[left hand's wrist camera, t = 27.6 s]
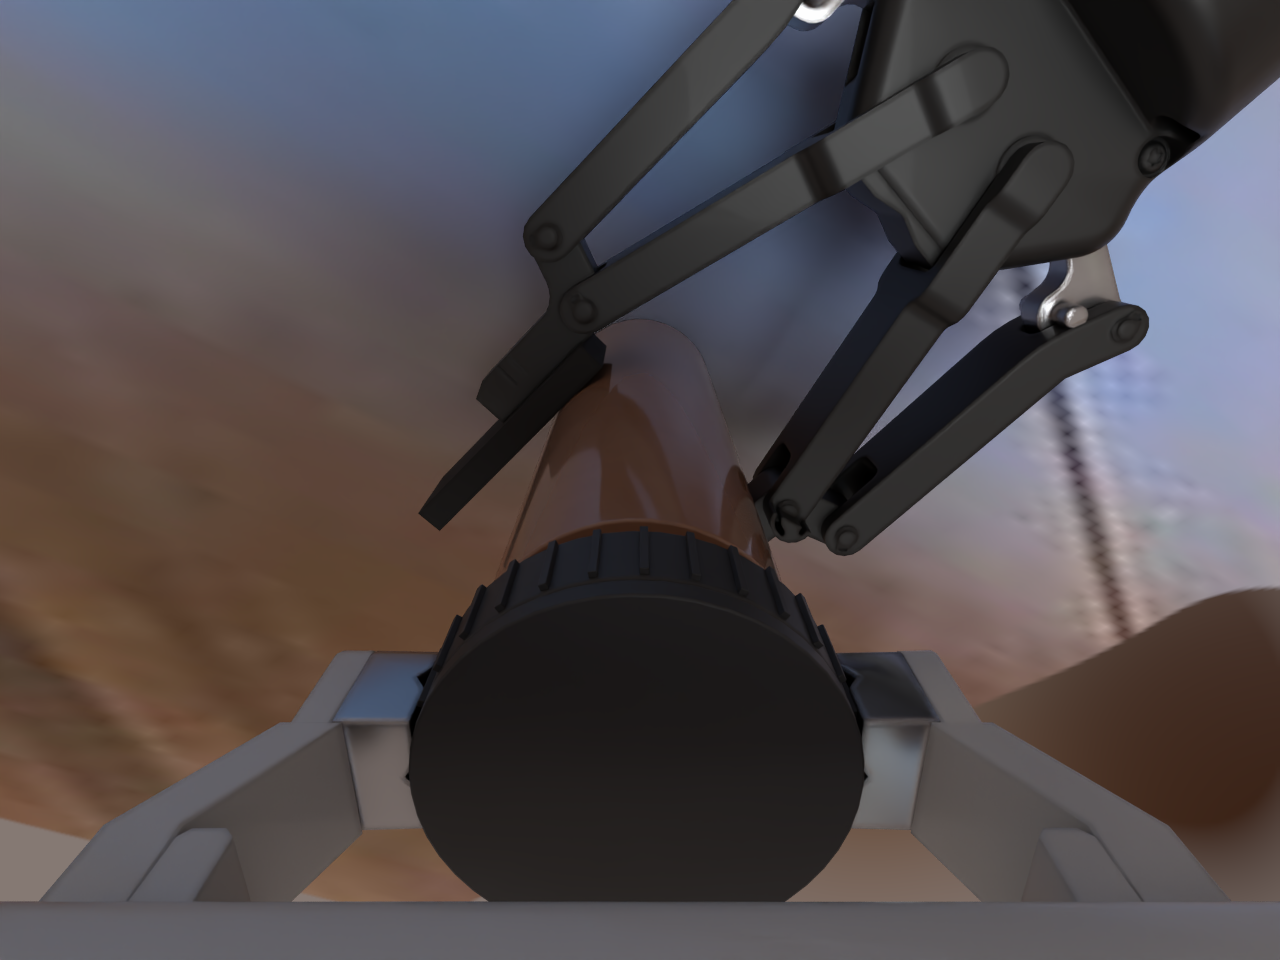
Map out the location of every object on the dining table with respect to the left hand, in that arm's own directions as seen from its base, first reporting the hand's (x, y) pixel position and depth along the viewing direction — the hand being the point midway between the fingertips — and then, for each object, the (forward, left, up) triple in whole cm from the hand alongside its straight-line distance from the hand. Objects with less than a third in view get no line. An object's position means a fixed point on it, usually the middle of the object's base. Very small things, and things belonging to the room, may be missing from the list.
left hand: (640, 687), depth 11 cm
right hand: (+4, -4, -11) cm, 12 cm away
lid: (0, 0, +2) cm, 2 cm away
